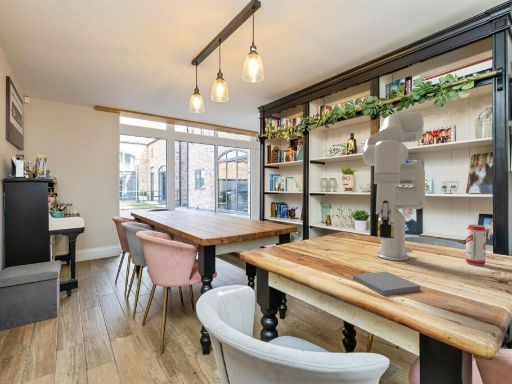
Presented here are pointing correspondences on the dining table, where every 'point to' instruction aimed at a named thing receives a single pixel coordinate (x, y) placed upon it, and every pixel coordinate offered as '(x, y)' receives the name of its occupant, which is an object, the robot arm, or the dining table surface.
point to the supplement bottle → (391, 228)
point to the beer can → (476, 245)
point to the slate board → (386, 283)
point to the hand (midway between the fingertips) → (385, 234)
